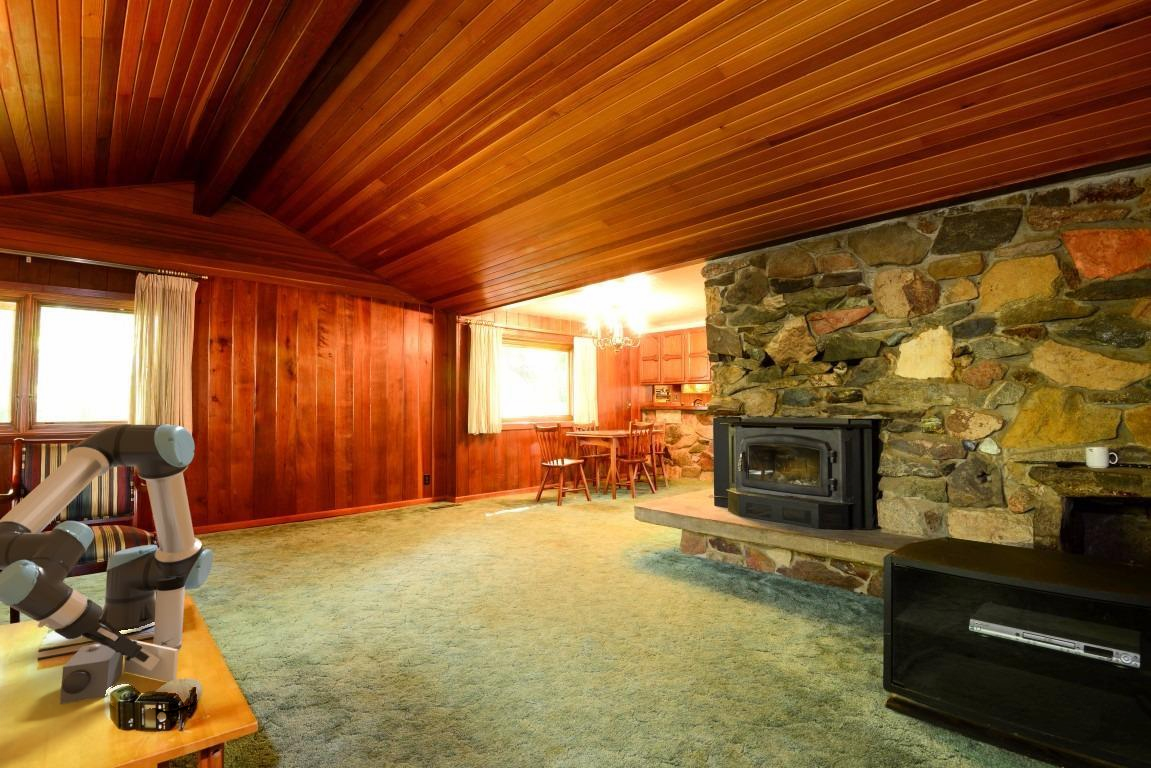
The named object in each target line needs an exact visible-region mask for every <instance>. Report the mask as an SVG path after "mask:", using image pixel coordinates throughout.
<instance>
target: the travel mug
mask: <svg viewBox="0 0 1151 768" xmlns="http://www.w3.org/2000/svg"><path fill="white" fill-rule="evenodd" d="M157 586H158V587H157V591H156V592H155V593H156V596H155V599H156V609H155V625H154V626H153V627H154V629H153V641H152V642H153V643H152V644H155V645H160V646H164V647H169V648H174V649H178V650H180V649H181V648H182V641H183V626H184V625H183V623H184V609H185V608H184V606H185V594H186V593H185V591H186V590H185V574H180V575H173V576H168V577H166V578H163V579H159V580H158V581H157Z"/></svg>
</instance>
